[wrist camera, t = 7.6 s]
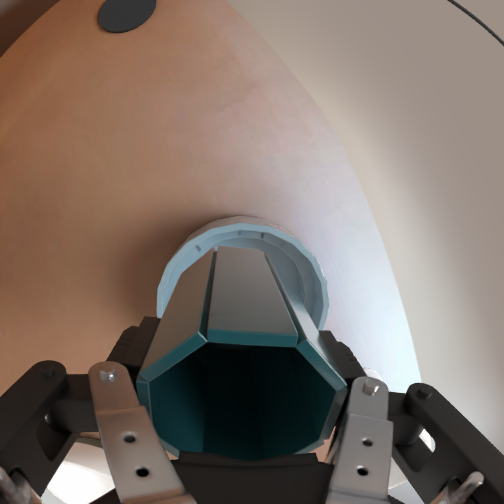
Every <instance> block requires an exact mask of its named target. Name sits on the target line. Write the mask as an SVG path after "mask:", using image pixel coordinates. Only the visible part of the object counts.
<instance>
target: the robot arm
mask: <svg viewBox="0 0 504 504" xmlns="http://www.w3.org/2000/svg"><path fill="white" fill-rule="evenodd" d="M447 1H449V2H450V3H452V4H453V5H455V6H456V7H457V8H459V9H461V10H462V11H463V12H464V13H466V14H467V15H468V16H470V17H471V18H472V19H474V20H475V21H476V22H477V23H479V24H480V25H481V26H482V27H483V28H485V29H486V30H487V31H488V32H489V33H491V35H492V36H493V37H495V38H496V39H497V40H498V41H499V42H500V43H501V44H502V45H503V46H504V41H503V40H502V39H500V37H499V36H498V35H496V34H495V33H494V32H493V31H492V30H491V29H490V28H489V27H488V26H487V25H485V24H484V23H483V22H482V21H481V20H479V19H478V18H477V17H476V16H474V15H473V14H472V13H471V12H469V11H468V10H467V9H465V8H464V7H463V6H461V5H460V4H458V3H457V2H456V1H454V0H447ZM160 320H161V318H156V317H148V316H145V317H144V319H143V320H142V322H141V324H140V326H139V327H136V326H131V327H129V328H128V329H126V330H124V331H123V333H122V335H121V336H120V339H119V340H118V341H117V343H116V345H115V346H114V348H113V350H112V351H111V353H110V355H109V357H108V358H107V360H106V361H104V362H99V363H97V364H95V365H93V366H92V367H91V368H90V369H89V372H88V374H67V372H66V369H65V367H64V366H63V365H62V364H61V363H59V362H56V361H51V360H47V361H41V362H38V363H36V364H35V365H33V366H32V367H31V368H30V369H29V370H28V371H27V372H26V373H25V374H24V375H23V376H22V377H21V378H20V379H18V380H17V381H16V382H15V383H14V384H13V385H12V386H11V387H10V388H9V389H8V390H7V391H6V392H5V393H4V394H3V395H2V396H1V397H0V504H43V502H42V500H41V499H40V497H41V496H42V494H43V493H44V491H45V489H46V488H47V486H48V484H49V483H50V481H51V479H52V478H53V476H54V475H55V473H56V471H57V470H58V468H59V467H60V465H61V463H62V462H63V460H64V459H65V457H66V455H67V454H68V452H69V451H70V449H71V448H72V446H73V444H74V443H75V441H76V440H77V438H78V437H79V435H80V433H81V432H99V434H100V438H101V442H102V446H103V449H104V453H105V456H106V460H107V463H108V467H109V470H110V473H111V476H112V479H113V482H114V485H115V488H114V489H112V490H110V491H109V492H107V493H105V494H104V495H102V496H101V497H99V498H97V499H96V500H94V501H92V502H90V503H89V504H404V503H403V502H401V501H399V500H397V499H395V498H394V497H391V496H390V495H388V487H389V478H390V468H391V457H392V458H393V460H394V461H395V462H396V464H397V465H398V467H399V468H400V470H401V471H402V472H403V474H404V475H405V477H406V478H407V479H408V481H409V482H410V484H411V485H412V486H413V488H414V489H415V491H416V492H417V494H418V495H419V496H420V498H421V499H422V500H423V502H424V503H425V504H504V455H503V454H502V453H501V452H499V450H497V448H496V447H494V445H493V444H491V442H490V441H488V439H487V438H486V437H485V436H484V435H483V434H481V432H480V431H478V430H477V429H476V428H475V427H474V426H473V425H472V424H471V423H470V422H469V421H468V420H467V419H466V418H465V417H464V416H463V415H462V414H461V413H460V412H459V411H458V410H457V409H456V408H455V407H454V406H453V405H452V404H450V402H449V401H447V400H446V398H444V397H443V396H442V395H441V394H440V393H439V392H438V391H437V390H436V389H435V388H433V387H432V386H430V385H427V384H424V383H414V384H412V385H410V386H409V388H408V390H407V392H406V393H396V392H389V391H388V387H387V385H386V384H385V383H384V382H382V381H381V380H379V379H376V378H373V377H368V376H367V374H366V373H365V371H364V370H363V368H362V367H361V365H360V364H359V362H358V361H357V359H356V358H355V356H353V353H352V351H351V350H350V348H349V347H347V346H346V345H345V344H343V343H342V342H337V341H336V339H335V337H334V336H333V334H332V333H331V331H324V330H318V332H319V334H320V336H321V337H322V339H323V341H324V343H325V345H326V346H327V348H328V350H329V352H330V354H331V356H332V357H333V359H334V361H335V363H336V365H337V366H338V368H339V370H340V372H341V374H342V376H343V377H344V379H345V381H346V383H347V386H346V388H347V390H348V393H347V395H346V398H345V401H344V403H343V406H342V409H341V411H340V414H339V416H338V419H337V421H336V424H335V427H336V428H335V430H334V432H333V435H332V438H331V442H330V445H329V448H328V451H327V455H326V458H325V461H324V462H318V459H317V456H316V453H304V454H285V455H280V456H275V457H271V458H266V459H261V460H256V461H244V460H239V459H235V458H230V457H226V456H222V455H218V454H214V453H202V452H191V451H182V450H179V458H178V459H176V460H170V459H169V457H168V455H167V453H166V451H165V449H164V447H163V445H162V443H161V441H160V439H159V436H158V434H157V432H156V430H155V428H154V426H153V423H152V421H151V419H150V416H149V414H148V412H147V409H146V407H145V406H144V405H140V402H139V400H138V396H137V388H136V378H137V376H138V373H139V371H140V368H141V366H142V364H143V361H144V359H145V356H146V354H147V351H148V349H149V347H150V344H151V342H152V339H153V337H154V334H155V332H156V330H157V327H158V325H159V323H160ZM42 419H43V420H42ZM423 429H425V430H426V431H427V432H428V433H429V434H430V436H431V437H432V438H433V439H434V441H435V450H434V452H432V451H431V450H430V449H429V448H428V446H427V445H426V444H425V443H424V442H423V440H422V439H421V438H420V437H419V436H420V434H421V432H422V431H423Z"/></svg>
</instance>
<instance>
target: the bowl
mask: <svg viewBox="0 0 504 504" xmlns="http://www.w3.org/2000/svg"><path fill="white" fill-rule="evenodd" d="M47 488H48V489H49V490H50V491H51V492H52V493H53V494H54V495H55V496H56V497H57V498H59V499H60V500H61V501H62V502H64V503H65V504H89V503H90V502H92V501H94V500H96V499H97V498H99V497H101V496H102V495H104V494H105V493H107V492H109V491H110V490H112V489H114V488H115V485H114V482H113V479H112V476H111V473H110V470H109V467H108V463H107V460H106V456H105V453H104V449H103V446H102V442H101V440H98V439H93V438H84V437H80V438H77V440H76V441H75V443H74V444H73V446H72V448H71V449H70V451H69V452H68V454H67V455H66V457H65V459H64V460H63V462H62V463H61V465H60V467H59V468H58V470H57V471H56V473H55V475H54V476H53V478H52V479H51V481H50V483H49V484H48V486H47Z"/></svg>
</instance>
